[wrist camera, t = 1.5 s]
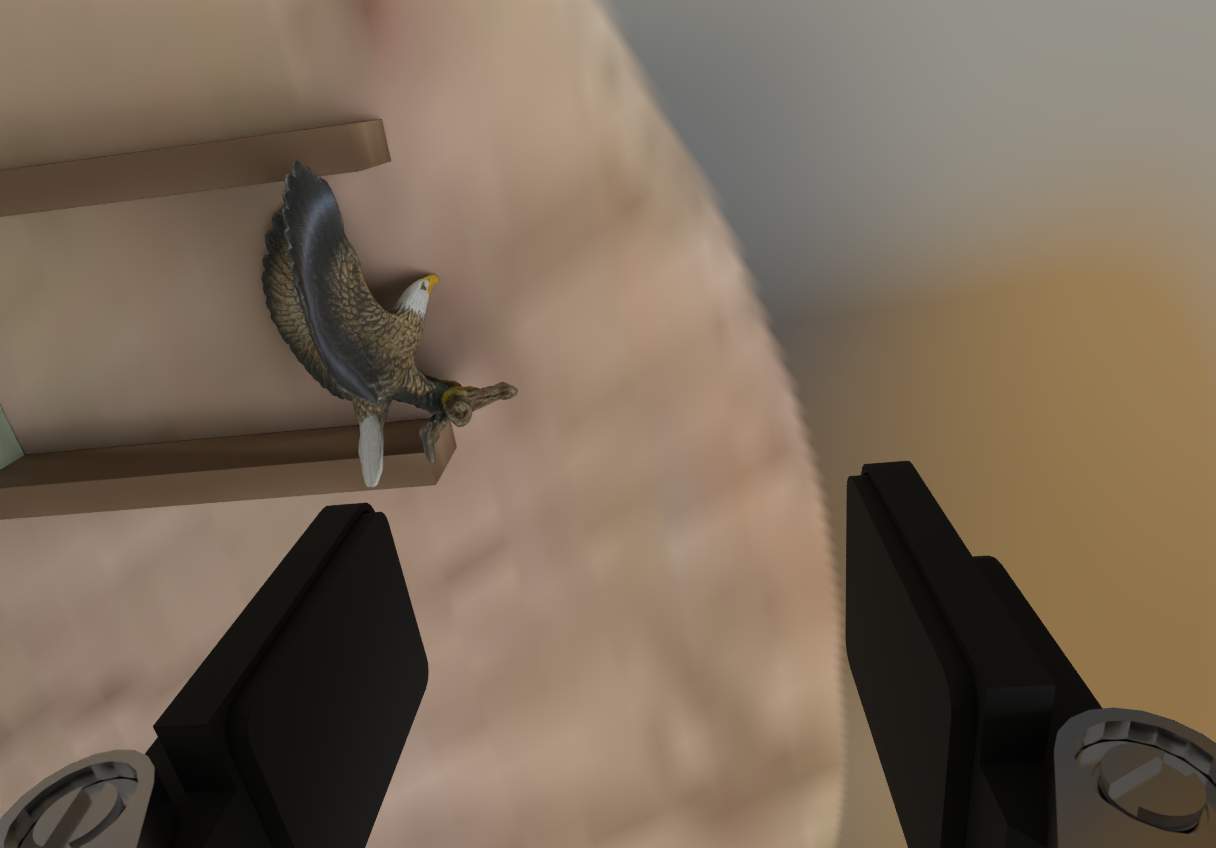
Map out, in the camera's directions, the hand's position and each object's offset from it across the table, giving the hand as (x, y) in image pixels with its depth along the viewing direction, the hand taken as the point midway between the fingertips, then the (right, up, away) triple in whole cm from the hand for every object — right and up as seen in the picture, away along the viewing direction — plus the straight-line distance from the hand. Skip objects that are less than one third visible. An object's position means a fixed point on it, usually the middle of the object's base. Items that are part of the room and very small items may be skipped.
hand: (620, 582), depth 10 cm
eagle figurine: (-8, +6, +17) cm, 20 cm away
